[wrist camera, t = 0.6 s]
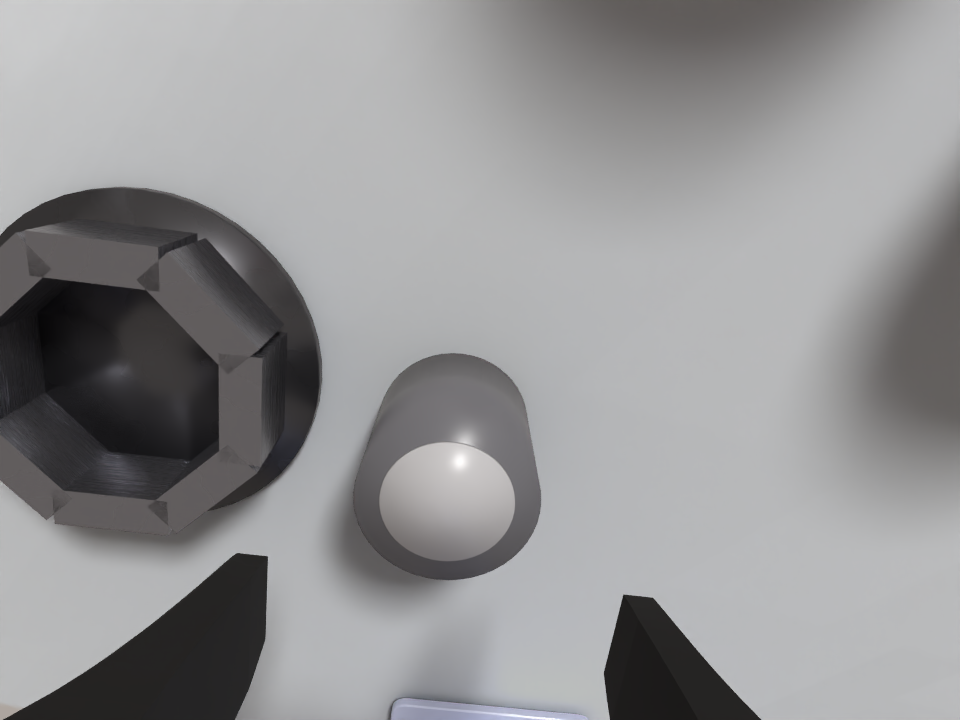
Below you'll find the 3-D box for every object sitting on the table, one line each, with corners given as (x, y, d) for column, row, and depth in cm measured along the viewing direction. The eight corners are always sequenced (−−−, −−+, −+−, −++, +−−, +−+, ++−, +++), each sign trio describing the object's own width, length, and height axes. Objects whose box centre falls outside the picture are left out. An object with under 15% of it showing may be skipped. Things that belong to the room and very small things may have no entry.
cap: (515, 494, 23) (525, 590, 18) (375, 478, 22) (347, 572, 18) (537, 362, 21) (555, 430, 16) (386, 344, 21) (359, 407, 16)
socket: (314, 522, 23) (291, 576, 20) (0, 488, 22) (-69, 539, 20) (330, 212, 19) (305, 225, 17) (-44, 163, 19) (-136, 168, 16)
